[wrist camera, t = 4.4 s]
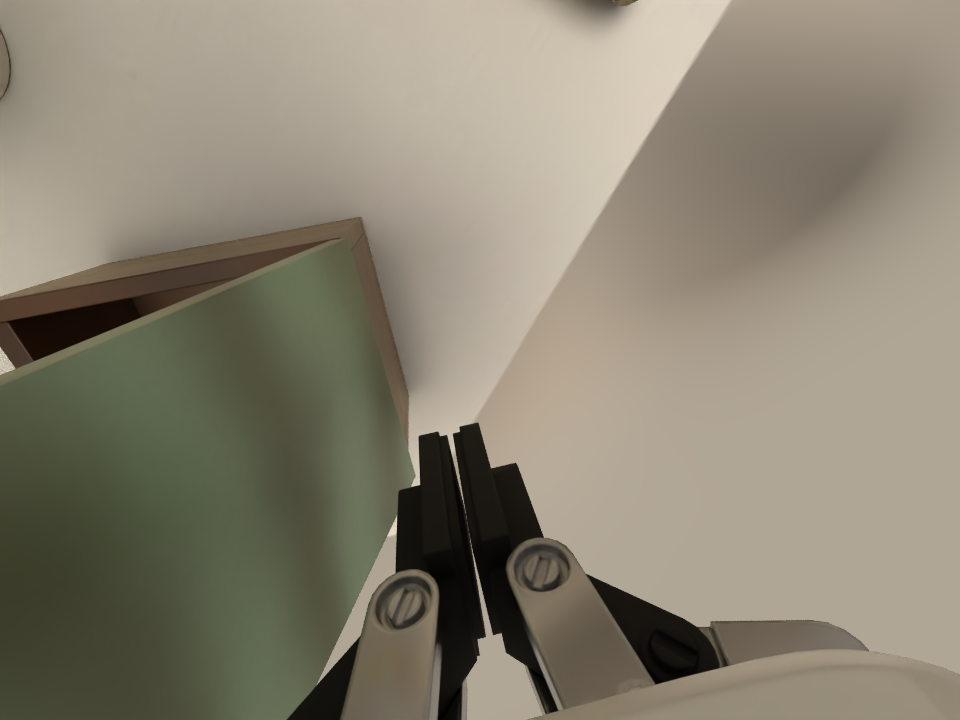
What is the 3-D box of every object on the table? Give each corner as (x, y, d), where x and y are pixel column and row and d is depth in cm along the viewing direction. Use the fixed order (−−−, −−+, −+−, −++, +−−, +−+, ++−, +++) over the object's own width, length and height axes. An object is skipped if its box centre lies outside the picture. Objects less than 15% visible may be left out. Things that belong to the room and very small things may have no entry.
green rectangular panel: (144, 971, 9) (176, 984, 8) (-527, 589, 4) (-489, 596, 3) (401, 475, 21) (416, 475, 21) (329, 240, 16) (348, 237, 16)
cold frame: (201, 440, 28) (130, 532, 21) (107, 263, 23) (-30, 305, 16) (408, 395, 29) (408, 470, 22) (361, 217, 24) (340, 237, 17)
